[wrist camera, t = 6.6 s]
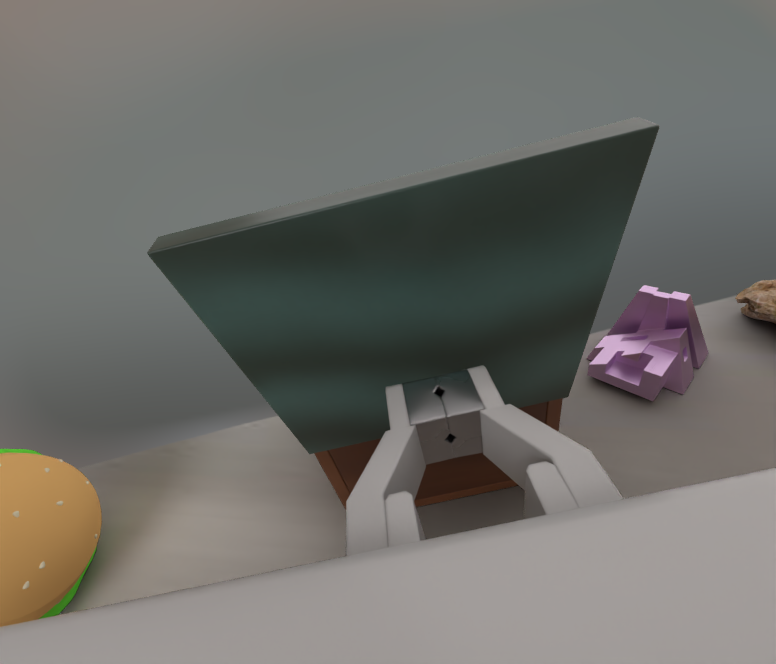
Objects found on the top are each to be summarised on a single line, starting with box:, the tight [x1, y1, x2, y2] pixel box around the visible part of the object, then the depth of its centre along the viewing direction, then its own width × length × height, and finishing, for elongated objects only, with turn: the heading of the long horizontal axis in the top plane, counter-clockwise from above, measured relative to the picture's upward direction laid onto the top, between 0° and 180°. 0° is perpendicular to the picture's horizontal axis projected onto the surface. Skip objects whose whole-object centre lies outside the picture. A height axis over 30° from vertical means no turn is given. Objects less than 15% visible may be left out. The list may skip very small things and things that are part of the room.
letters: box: [587, 285, 708, 401], centre depth 27 cm, size 8×7×6 cm
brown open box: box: [314, 398, 562, 509], centre depth 25 cm, size 12×14×8 cm
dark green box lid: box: [148, 117, 659, 454], centre depth 13 cm, size 12×14×1 cm
